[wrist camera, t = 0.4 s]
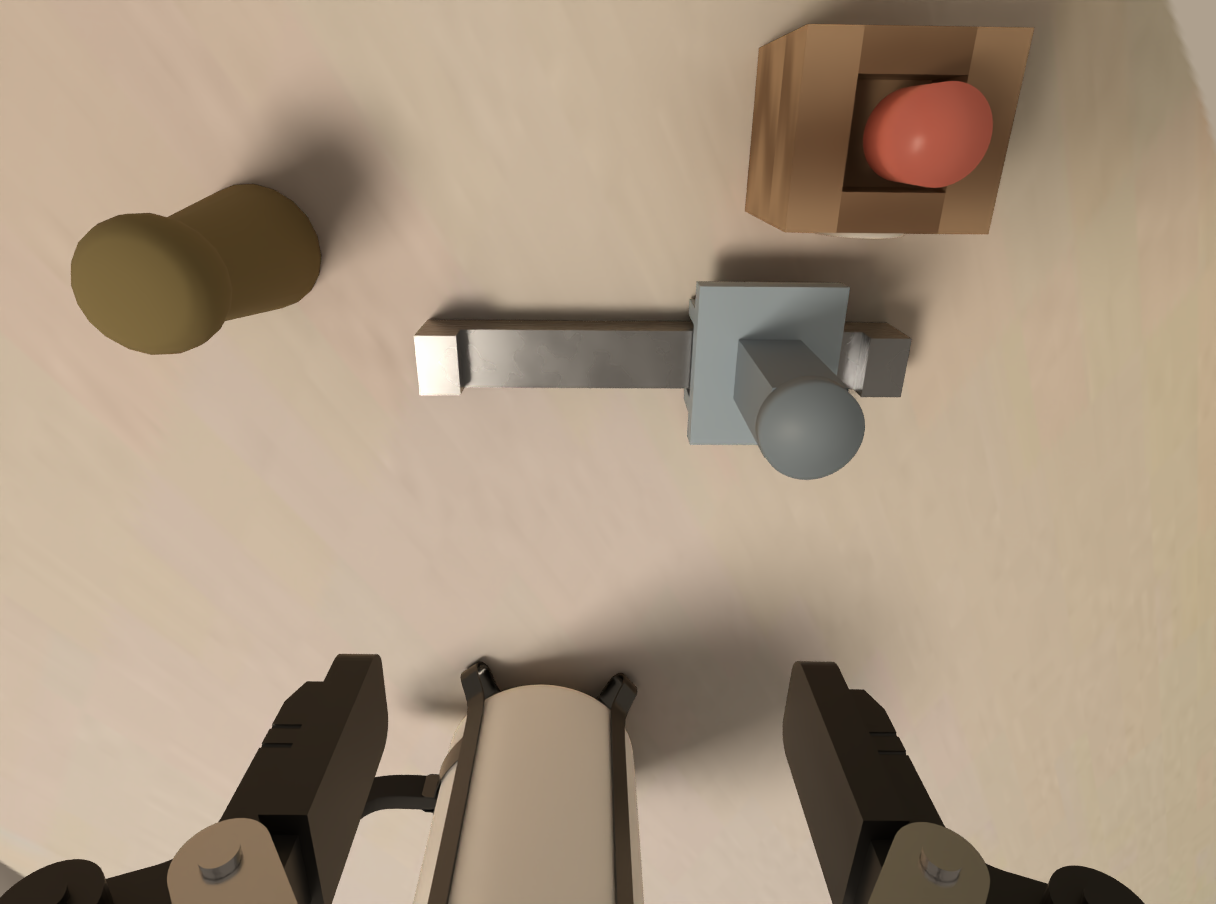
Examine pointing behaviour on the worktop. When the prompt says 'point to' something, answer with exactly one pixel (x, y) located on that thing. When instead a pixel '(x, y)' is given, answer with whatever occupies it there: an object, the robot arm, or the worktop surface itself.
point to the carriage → (773, 374)
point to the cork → (194, 268)
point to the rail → (615, 355)
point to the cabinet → (837, 115)
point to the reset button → (928, 134)
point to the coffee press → (529, 799)
